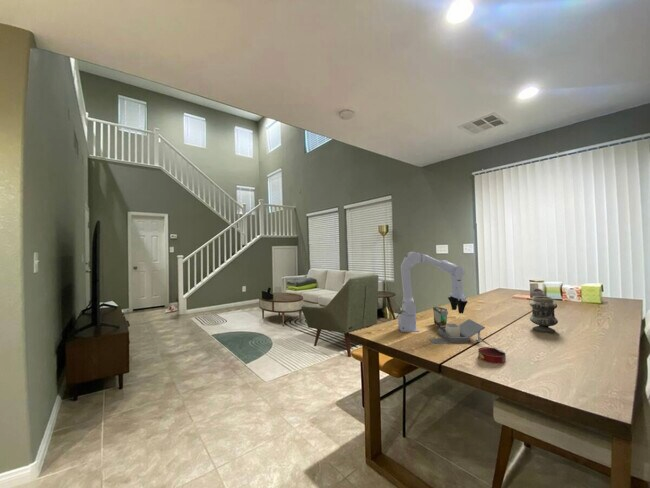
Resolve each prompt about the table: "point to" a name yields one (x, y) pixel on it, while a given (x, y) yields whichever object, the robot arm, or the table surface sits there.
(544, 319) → the dark ornate urn
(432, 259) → the robot arm
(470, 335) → the case
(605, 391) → the table surface
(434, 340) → the pad
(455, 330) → the module
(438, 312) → the food container
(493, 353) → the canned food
